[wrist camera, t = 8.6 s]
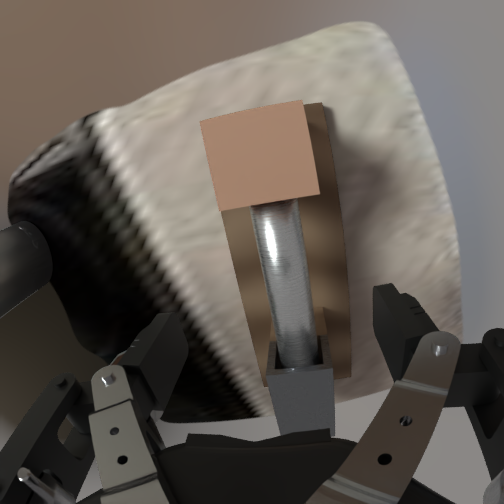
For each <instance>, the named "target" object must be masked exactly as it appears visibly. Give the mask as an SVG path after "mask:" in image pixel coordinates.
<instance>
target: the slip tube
mask: <svg viewBox="0 0 504 504" xmlns="http://www.w3.org/2000/svg"><path fill="white" fill-rule="evenodd" d="M249 209H250V214H251V219H252V224H253V228H254V233H255V238H256V243H257V248H258V253H259V257H260V262H261V267H262V272H263V277H264V282H265V287H266V291H267V296H268V301H269V306H270V311H271V316H272V321H273V326H274V331H275V336H276V341H277V346H278V351H279V356H280V361H281V366H282V369H286V368H296V367H304V366H312V365H320V364H319V354H318V344H317V335H316V326H315V317H314V309H313V301H312V293H311V285H310V278H309V270H308V263H307V256H306V250H305V243H304V237H303V230H302V224H301V218H300V212H299V206H298V200H297V198H292V199H286V200H280V201H274V202H268V203H263V204H257V205H251V206H249Z"/></svg>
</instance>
